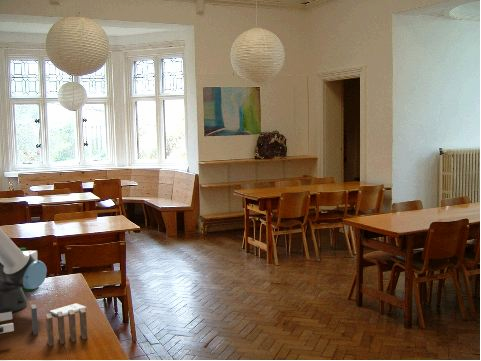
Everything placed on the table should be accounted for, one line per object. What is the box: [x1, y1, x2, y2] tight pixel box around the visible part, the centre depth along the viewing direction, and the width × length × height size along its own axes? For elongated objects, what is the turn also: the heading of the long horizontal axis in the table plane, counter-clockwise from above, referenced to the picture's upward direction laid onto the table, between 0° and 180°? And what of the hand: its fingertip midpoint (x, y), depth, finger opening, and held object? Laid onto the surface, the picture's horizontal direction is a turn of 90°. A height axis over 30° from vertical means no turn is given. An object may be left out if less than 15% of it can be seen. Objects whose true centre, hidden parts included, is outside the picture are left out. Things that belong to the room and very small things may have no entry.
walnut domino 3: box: [67, 310, 78, 342], centre depth 189 cm, size 2×5×10 cm, turn 25°
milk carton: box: [18, 246, 38, 292], centre depth 253 cm, size 9×9×20 cm
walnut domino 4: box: [78, 308, 88, 340], centre depth 191 cm, size 2×5×10 cm, turn 26°
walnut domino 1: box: [45, 312, 55, 347], centre depth 186 cm, size 2×5×10 cm, turn 25°
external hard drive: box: [48, 302, 87, 317], centre depth 220 cm, size 2×8×12 cm
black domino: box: [30, 304, 39, 336], centre depth 197 cm, size 2×5×10 cm, turn 26°
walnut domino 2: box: [56, 311, 66, 345], centre depth 187 cm, size 2×5×10 cm, turn 25°
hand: (13, 320), depth 193 cm, fingers open, 13 cm apart
